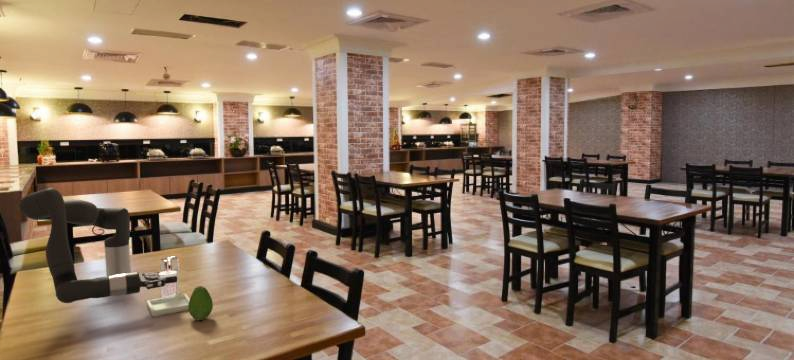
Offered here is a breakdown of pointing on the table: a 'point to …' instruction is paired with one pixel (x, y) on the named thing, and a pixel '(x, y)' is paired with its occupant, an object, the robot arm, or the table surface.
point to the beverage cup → (169, 288)
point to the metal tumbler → (171, 268)
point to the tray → (168, 305)
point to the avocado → (200, 303)
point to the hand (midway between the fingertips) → (175, 276)
